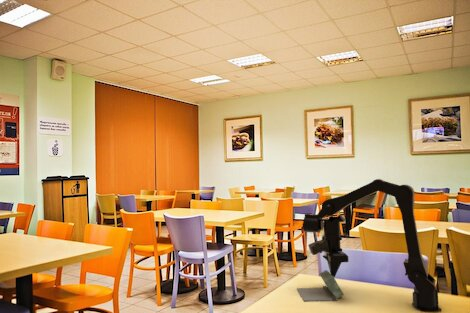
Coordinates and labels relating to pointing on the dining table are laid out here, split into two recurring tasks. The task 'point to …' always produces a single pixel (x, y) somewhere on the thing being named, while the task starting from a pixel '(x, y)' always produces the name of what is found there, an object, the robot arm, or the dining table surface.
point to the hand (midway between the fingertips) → (333, 276)
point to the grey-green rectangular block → (331, 284)
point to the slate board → (316, 294)
